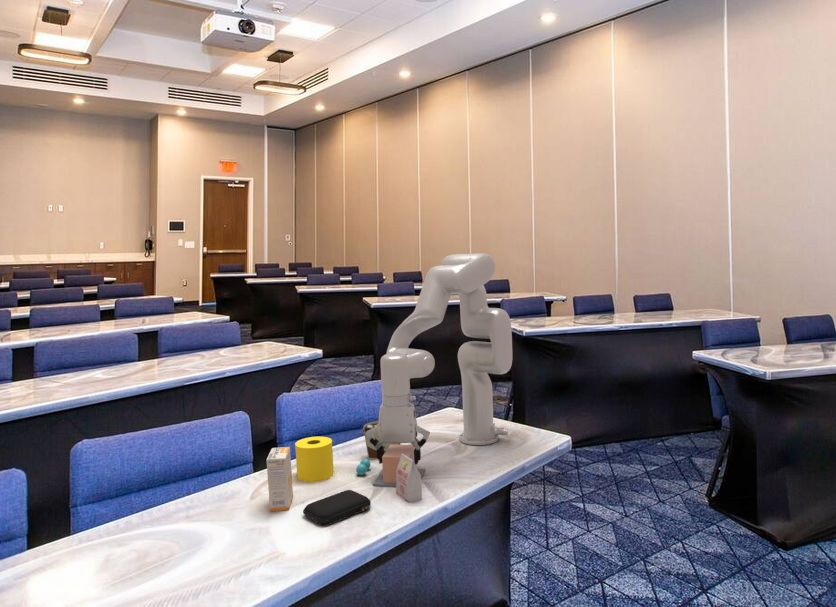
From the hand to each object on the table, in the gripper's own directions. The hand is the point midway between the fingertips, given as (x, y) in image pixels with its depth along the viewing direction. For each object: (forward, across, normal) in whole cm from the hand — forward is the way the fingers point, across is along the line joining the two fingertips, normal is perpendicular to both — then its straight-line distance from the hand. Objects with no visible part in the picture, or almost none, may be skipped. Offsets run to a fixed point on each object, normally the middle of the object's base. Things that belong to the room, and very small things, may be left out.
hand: (399, 462), depth 159 cm
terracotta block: (+4, 0, 0) cm, 4 cm away
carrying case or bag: (+5, +10, +22) cm, 25 cm away
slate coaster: (+4, 0, 0) cm, 4 cm away
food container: (+5, +8, -18) cm, 20 cm away
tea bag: (+5, -5, +11) cm, 13 cm away
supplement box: (+4, +26, +18) cm, 32 cm away
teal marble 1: (+4, +11, -6) cm, 13 cm away
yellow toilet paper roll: (+5, +24, 0) cm, 24 cm away
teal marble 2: (+4, +11, -2) cm, 12 cm away
